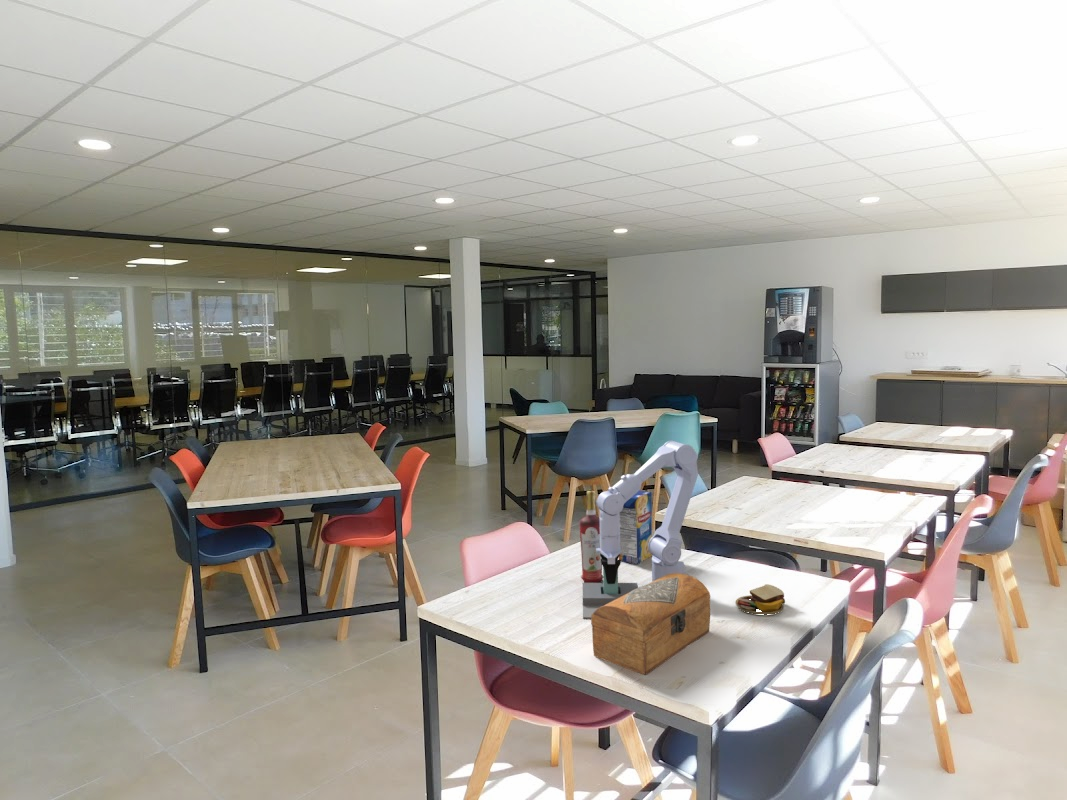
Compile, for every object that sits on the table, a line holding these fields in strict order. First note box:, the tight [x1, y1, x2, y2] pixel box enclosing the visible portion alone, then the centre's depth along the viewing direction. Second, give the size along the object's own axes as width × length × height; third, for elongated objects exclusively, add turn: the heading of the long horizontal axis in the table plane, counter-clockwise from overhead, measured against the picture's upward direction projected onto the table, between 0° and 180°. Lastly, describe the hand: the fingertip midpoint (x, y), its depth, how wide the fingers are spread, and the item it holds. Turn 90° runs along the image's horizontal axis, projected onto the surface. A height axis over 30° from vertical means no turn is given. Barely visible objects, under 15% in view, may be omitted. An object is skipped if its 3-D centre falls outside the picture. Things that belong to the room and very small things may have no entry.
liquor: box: [578, 490, 603, 583], centre depth 210 cm, size 7×7×28 cm
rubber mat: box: [582, 604, 602, 620], centre depth 187 cm, size 8×8×1 cm
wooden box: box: [590, 573, 711, 676], centre depth 167 cm, size 30×16×14 cm, turn 136°
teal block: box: [602, 567, 619, 594], centre depth 196 cm, size 4×4×8 cm
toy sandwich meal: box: [734, 584, 786, 615], centre depth 188 cm, size 12×14×5 cm
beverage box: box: [618, 490, 653, 565], centre depth 231 cm, size 7×11×22 cm, turn 145°
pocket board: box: [582, 582, 639, 606], centre depth 197 cm, size 16×12×2 cm
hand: (610, 580), depth 196 cm, fingers closed on teal block, 4 cm apart
